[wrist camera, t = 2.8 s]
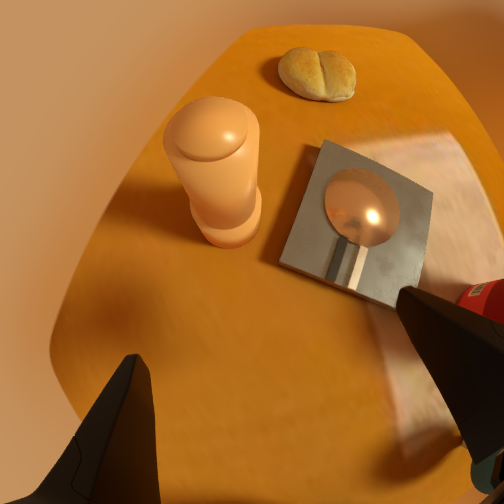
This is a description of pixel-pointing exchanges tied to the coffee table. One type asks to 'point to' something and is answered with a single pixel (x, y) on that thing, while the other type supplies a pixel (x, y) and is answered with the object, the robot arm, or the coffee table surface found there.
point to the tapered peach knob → (218, 167)
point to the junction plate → (359, 227)
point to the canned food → (485, 300)
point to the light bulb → (483, 472)
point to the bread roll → (318, 74)
